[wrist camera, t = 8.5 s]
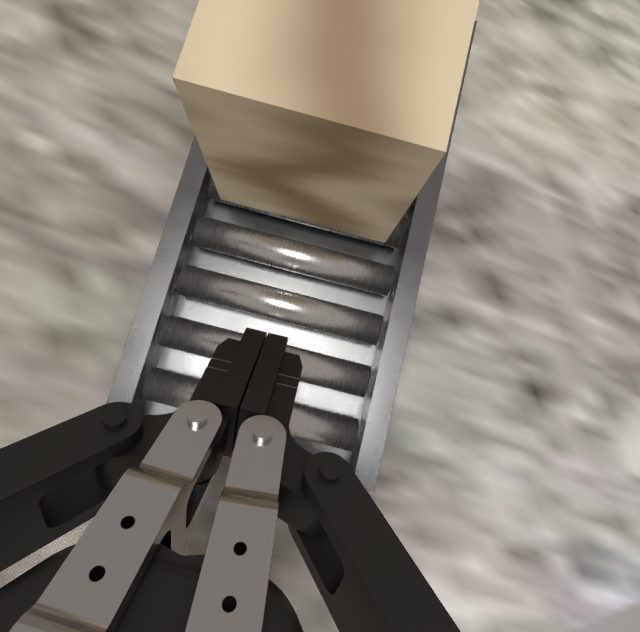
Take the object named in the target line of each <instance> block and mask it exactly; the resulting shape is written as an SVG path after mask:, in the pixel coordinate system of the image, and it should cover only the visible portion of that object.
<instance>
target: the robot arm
mask: <svg viewBox="0 0 640 632" xmlns="http://www.w3.org/2000/svg"><path fill="white" fill-rule="evenodd" d="M287 343H288V337H285V336H281V335H277V334H273V333H268V335H267V332H264V331H260V330H256V329H252V328H248V327H247V328H246V329H245V331H244V334H243V336H242V338H241V340H240V341H239V340H235V339H231V338H227V339H226V340H225V341H223V342H222V343H221V344H219V345H218V346H217V348H216V350H215V352H214V354H213V356H212V358H211V359H210V361H209V363H208V365H207V367H206V369H205V371H204V373H203V375H202V377H201V379H200V381H199V383H198V385H197V387H196V388H195V390H194V392H193V394H192V396H191V398H190V400H189V401H188V402H186V403H184V404H182V405H181V406H179V407H178V408H177V409H176V410H175V411H174V412H171V413H168V414H160V415H142V413H141V411H140V410H139V408H138V407H136V406H135V405H133V404H131V403H128V402H112V403H108V404H105V405H102V406H100V407H98V408H95V409H93V410H91V411H88V412H86V413H84V414H81V415H79V416H77V417H74V418H72V419H69V420H67V421H65V422H62V423H60V424H58V425H55V426H53V427H51V428H48V429H46V430H44V431H41V432H39V433H36V434H34V435H32V436H29V437H27V438H25V439H22V440H20V441H18V442H15V443H13V444H11V445H8V446H6V447H3V448H1V449H0V572H1V571H2V570H4V569H6V568H8V567H9V566H11V565H13V564H14V563H16V562H18V561H20V560H21V559H23V558H25V557H26V556H28V555H30V554H31V553H33V552H35V551H37V550H38V549H40V548H42V547H43V546H45V545H47V544H49V543H50V542H52V541H54V540H55V539H57V538H59V537H61V536H62V535H64V534H66V533H67V532H69V531H71V530H72V529H74V528H76V527H78V526H79V525H81V524H83V523H84V522H86V521H88V520H90V519H91V518H93V517H94V518H93V520H92V521H91V523H90V524H89V526H88V527H87V529H86V530H85V532H84V533H83V535H82V536H81V538H80V539H79V541H78V542H77V543H76V544H75V545H72V546H70V547H67V548H65V549H63V550H61V551H59V552H57V553H55V554H53V555H52V556H50V557H48V558H47V559H45V560H44V561H42V562H41V563H39V564H37V565H36V566H34V567H33V568H31V569H30V570H28V571H27V572H25V573H23V574H22V575H20V576H19V577H17V578H16V579H14V580H13V581H11V582H9V583H8V584H6V585H5V586H3V587H2V588H0V632H303V630H302V627H301V625H300V622H299V620H298V617H297V615H296V613H295V610H294V609H293V607H292V605H291V603H290V602H289V600H288V599H287V597H286V596H285V595H284V593H283V592H282V591H281V590H280V589H279V588H278V587H277V586H276V585H275V584H274V583H273V582H272V581H271V580H269V572H270V565H271V558H272V550H273V543H274V535H275V528H276V521H277V517H278V518H280V519H281V520H283V521H285V522H286V523H288V527H289V530H290V533H291V535H292V537H293V539H294V541H295V543H296V545H297V547H298V549H299V551H300V553H301V555H302V557H303V559H304V561H305V563H306V565H307V567H308V569H309V571H310V573H311V575H312V577H313V579H314V581H315V583H316V585H317V587H318V589H319V591H320V593H321V595H322V597H323V599H324V601H325V603H326V605H327V607H328V609H329V611H330V613H331V615H332V617H333V619H334V621H335V624H336V626H337V628H338V630H339V632H460V630H459V629H458V627H457V626H456V624H455V623H454V621H453V620H452V618H451V617H450V615H449V614H448V612H447V611H446V609H445V608H444V606H443V605H442V603H441V602H440V600H439V599H438V597H437V596H436V594H435V593H434V591H433V590H432V588H431V587H430V585H429V584H428V582H427V581H426V579H425V578H424V576H423V575H422V573H421V572H420V570H419V569H418V567H417V566H416V564H415V563H414V561H413V560H412V558H411V557H410V555H409V554H408V552H407V551H406V549H405V548H404V546H403V545H402V543H401V542H400V540H399V539H398V537H397V536H396V534H395V533H394V531H393V530H392V528H391V527H390V525H389V524H388V522H387V521H386V519H385V518H384V516H383V515H382V513H381V512H380V510H379V509H378V507H377V506H376V504H375V503H374V501H373V500H372V498H371V497H370V495H369V494H368V492H367V491H366V489H365V488H364V486H363V485H362V483H361V482H360V480H359V479H358V477H357V476H356V474H355V473H354V471H353V470H352V468H351V467H350V465H349V464H348V462H347V461H346V460H345V459H344V458H342V457H341V456H339V455H337V454H335V453H332V452H319V453H316V454H314V455H313V454H312V453H310V452H308V451H307V450H305V449H303V448H302V447H300V446H299V445H298V444H297V443H296V442H295V441H294V439H293V438H292V436H291V433H290V430H289V424H290V419H291V414H292V410H293V406H294V402H295V397H296V393H297V389H298V385H299V380H300V376H301V372H302V367H303V366H302V363H301V359H300V356H299V355H297V354H293V353H289V352H286V347H287ZM233 449H234V451H233ZM232 452H233V455H232ZM223 455H224V456H229V457H231V455H232V459H231V463H230V467H229V471H228V475H227V479H226V483H225V486H224V490H223V491H222V493H221V496H220V500H219V503H218V507H217V511H216V515H215V519H214V523H213V526H212V530H211V534H210V538H209V542H208V546H207V550H206V553H205V555H193V556H183V552H184V548H185V545H186V541H187V538H188V535H189V533H190V531H191V528H192V526H193V524H194V522H195V520H196V518H197V515H198V513H199V511H200V509H201V507H202V505H203V502H204V500H205V498H206V496H207V494H208V492H209V489H210V487H211V485H212V483H213V481H214V479H215V476H216V471H217V469H218V467H219V464H220V462H221V459H222V456H223Z"/></svg>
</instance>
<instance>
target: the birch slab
mask: <svg viewBox="0 0 640 632" xmlns="http://www.w3.org/2000/svg"><path fill="white" fill-rule="evenodd" d="M478 4H479V0H199V2H198V5H197V8H196V11H195V14H194V17H193V19H192V22H191V25H190V28H189V31H188V34H187V37H186V39H185V42H184V45H183V48H182V51H181V54H180V57H179V59H178V62H177V65H176V68H175V71H174V74H173V77H172V78H173V81H174V83H175V86H176V88H177V91H178V93H179V96H180V98H181V101H182V103H183V106H184V108H185V111H186V113H187V116H188V118H189V121H190V123H191V126H192V128H193V131H194V134H195V136H196V139H197V141H198V144H199V146H200V149H201V151H202V154H203V156H204V159H205V161H206V164H207V166H208V169H209V171H210V174H211V176H212V179H213V181H214V184H215V186H216V189H217V191H218V194H219V196H220V199H221V200H225V201H228V202H232V203H236V204H240V205H243V206H247V207H251V208H255V209H259V210H262V211H266V212H270V213H274V214H277V215H281V216H285V217H289V218H292V219H296V220H300V221H304V222H307V223H311V224H315V225H319V226H322V227H326V228H330V229H334V230H338V231H341V232H345V233H349V234H353V235H356V236H360V237H364V238H368V239H371V240H375V241H379V242H383V243H385V242H386V240H387V239H388V237H389V236H390V234H391V233H392V231H393V230H394V228H395V227H396V225H397V224H398V223H399V221H400V220H401V218H402V217H403V215H404V214H405V212H406V211H407V209H408V208H409V206H410V205H411V203H412V202H413V200H414V199H415V197H416V196H417V194H418V193H419V191H420V190H421V188H422V187H423V186H424V184H425V183H426V181H427V180H428V178H429V177H430V175H431V174H432V172H433V171H434V169H435V168H436V166H437V165H438V163H439V162H440V160H441V159H442V157H443V156H444V154H445V153H446V150H447V146H448V141H449V136H450V132H451V127H452V123H453V118H454V114H455V109H456V104H457V100H458V95H459V91H460V86H461V81H462V77H463V72H464V68H465V63H466V59H467V54H468V49H469V45H470V40H471V36H472V31H473V27H474V22H475V17H476V13H477V8H478Z"/></svg>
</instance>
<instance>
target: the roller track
mask: <svg viewBox="0 0 640 632" xmlns="http://www.w3.org/2000/svg"><path fill="white" fill-rule="evenodd" d="M476 22H477V21H475V22H474V27H473V31H472V36H471V40H470V45H469V49H468V54H467V59H466V63H465V68H464V72H463V77H462V81H461V86H460V91H459V95H458V100H457V104H456V109H455V114H454V118H453V123H452V127H451V132H450V136H449V141H448V146H447V150H446V153H445V154H444V156H443V157H442V159H441V160H440V162H439V163H438V165H437V166H436V168H435V169H434V171H433V172H432V174H431V175H430V177H429V178H428V180H427V181H426V183H425V184H424V186H423V187H422V188H421V190H420V191H419V193H418V194H417V196H416V197H415V199H414V200H413V202H412V203H411V205H410V206H409V208H408V209H407V211H406V212H405V214H404V215H403V217H402V218H401V220H400V221H399V223H398V224H397V225H396V227H395V228H394V230H393V231H392V233H391V234H390V236H389V237H388V239H387V240H386V242H385V243H383V242H379V241H375V240H371V239H368V238H364V237H360V236H356V235H353V234H349V233H345V232H341V231H338V230H334V229H330V228H326V227H322V226H319V225H315V224H311V223H307V222H304V221H300V220H296V219H292V218H289V217H285V216H281V215H277V214H274V213H270V212H266V211H262V210H259V209H255V208H251V207H247V206H243V205H240V204H236V203H232V202H228V201H225V200H221V199H220V196H219V194H218V191H217V189H216V186H215V184H214V181H213V179H212V176H211V174H210V171H209V169H208V166H207V164H206V161H205V159H204V156H203V154H202V151H201V149H200V146H199V144H198V141H197V139H196V136H195V137H194V140H193V143H192V146H191V149H190V152H189V155H188V158H187V161H186V164H185V167H184V170H183V173H182V176H181V179H180V182H179V185H178V188H177V191H176V194H175V197H174V200H173V203H172V206H171V209H170V212H169V215H168V218H167V221H166V224H165V227H164V230H163V233H162V236H161V239H160V242H159V246H158V249H157V252H156V255H155V258H154V261H153V264H152V267H151V270H150V273H149V276H148V279H147V282H146V285H145V288H144V291H143V294H142V297H141V300H140V303H139V306H138V309H137V312H136V315H135V318H134V321H133V324H132V327H131V330H130V333H129V336H128V339H127V342H126V345H125V348H124V351H123V354H122V357H121V360H120V363H119V366H118V369H117V372H116V375H115V378H114V381H113V384H112V387H111V390H110V393H109V397H108V400H107V403H106V404H108V403H112V402H128V403H131V404H133V405H135V406H136V407H138V408H139V410H140V411H141V413H142V415H160V414H168V413H171V412H174V411H175V410H176V409H177V408H178V407H179V406H181V405H182V404H184V403H186V402H188V401H189V400H190V398H191V396H192V394H193V392H194V390H195V388H196V387H197V385H198V383H199V381H200V379H201V377H202V375H203V373H204V371H205V369H206V367H207V365H208V363H209V361H210V359H211V358H212V356H213V354H214V352H215V350H216V348H217V346H218V345H219V344H221V343H222V342H223V341H225V340H226V339H227V338H231V339H235V340H239V341H240V340H241V338H242V336H243V334H244V331H245V329H246V328H247V327H248V328H252V329H256V330H260V331H264V332H267V335H268V333H273V334H277V335H281V336H285V337H288V343H287V347H286V352H289V353H293V354H297V355H299V356H300V359H301V363H302V366H303V367H302V372H301V376H300V380H299V385H298V389H297V393H296V397H295V402H294V406H293V410H292V414H291V419H290V424H289V430H290V433H291V436H292V438H293V439H294V441H295V442H296V443H297V444H298V445H299V446H300V447H302V448H303V449H305V450H307V451H308V452H310V453H312V454H313V455H314V454H316V453H319V452H332V453H335V454H337V455H339V456H341V457H342V458H344V459H345V460H346V461H347V462H348V464H349V465H350V467H351V468H352V470H353V471H354V473H355V474H356V476H357V477H358V479H359V480H360V482H361V483H362V485H363V486H364V488H365V489H366V490H369V491H373V492H374V491H375V487H376V482H377V477H378V473H379V468H380V464H381V459H382V454H383V450H384V445H385V441H386V436H387V431H388V427H389V422H390V418H391V413H392V408H393V404H394V399H395V395H396V390H397V385H398V381H399V376H400V372H401V367H402V362H403V358H404V353H405V349H406V344H407V339H408V335H409V330H410V326H411V321H412V317H413V312H414V307H415V303H416V298H417V294H418V289H419V284H420V280H421V275H422V271H423V266H424V261H425V257H426V252H427V248H428V243H429V238H430V234H431V229H432V225H433V220H434V215H435V211H436V206H437V202H438V197H439V192H440V188H441V183H442V179H443V174H444V169H445V165H446V160H447V156H448V151H449V146H450V142H451V137H452V133H453V128H454V123H455V119H456V114H457V110H458V105H459V101H460V96H461V91H462V87H463V82H464V78H465V73H466V68H467V64H468V59H469V55H470V50H471V45H472V41H473V36H474V32H475V27H476Z"/></svg>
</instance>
